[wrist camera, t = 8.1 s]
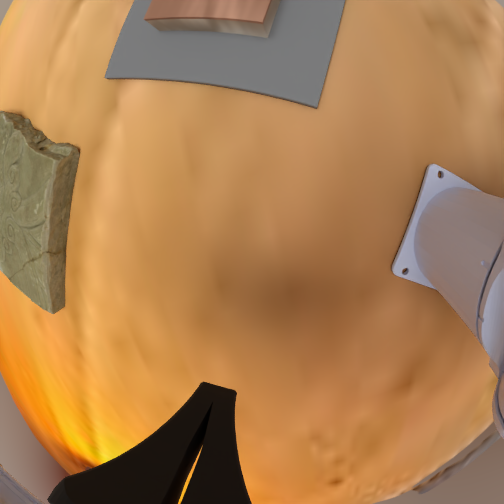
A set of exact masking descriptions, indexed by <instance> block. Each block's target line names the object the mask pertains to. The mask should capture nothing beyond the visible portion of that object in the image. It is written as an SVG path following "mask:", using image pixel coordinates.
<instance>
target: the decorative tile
mask: <svg viewBox="0 0 504 504" xmlns="http://www.w3.org/2000/svg"><path fill="white" fill-rule="evenodd" d="M79 157H80V154H79V152H78V149H77V148H76V147H74V146H73V145H71V144H69V143H58V144H56V143H54V142H52V141H51V140H50V139H48V138H47V137H46V136H44V134H43V132H42V131H37V130H35V129H34V127H33V126H32V124H31V121H30V120H29V119H24V118H23V117H22V116H19V115H17V114H13V113H7V112H4V111H0V270H1V271H2V272H3V273H4V274H5V275H6V276H7V278H8V279H9V280H10V281H11V282H12V283H13V284H14V285H15V286H16V287H17V288H18V289H19V290H21V291H22V292H23V293H24V294H25V295H26V296H28V297H29V298H30V299H31V300H32V301H33V302H34V303H36V304H37V305H38V306H40V307H41V308H42V309H44V310H46V311H48V312H50V313H52V314H55V313H56V312H58V311H59V310H61V309H62V308H63V307H64V306H65V264H66V251H65V250H66V242H67V233H68V225H69V217H70V207H71V200H72V193H73V187H74V182H75V177H76V172H77V166H78V161H79Z"/></svg>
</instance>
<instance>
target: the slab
mask: <svg viewBox="0 0 504 504" xmlns="http://www.w3.org/2000/svg"><path fill="white" fill-rule="evenodd" d="M280 1H281V0H152V1H151V3H150V6H149V8H148V10H147V12H146V14H145V17H144V20H145V21H146V22H148V23H149V24H151V25H152V26H153V27H155V28H156V29H157V30H159V31H209V32H223V33H233V34H242V35H250V36H257V37H263V38H268V36H269V33H270V30H271V27H272V24H273V21H274V18H275V15H276V12H277V9H278V6H279V4H280Z"/></svg>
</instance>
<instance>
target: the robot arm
mask: <svg viewBox="0 0 504 504" xmlns="http://www.w3.org/2000/svg"><path fill="white" fill-rule="evenodd" d="M439 171H440V172H441V177H440V178H439V177H438V172H439ZM404 268H407V270H406V272H404V273H402V270H403V269H404ZM392 272H393V273H394V274H395V275H396V276H399V277H402V278H405V279H407V280H410V281H413V282H416V283H419V284H422V285H425V286H427V287H430V288H433V289H436V290H438V292H439V293H440V294H441V295H442V296H443V297H444V298H445V300H446V301H447V302H448V303H449V304H450V306H451V307H452V308H453V309H454V310H455V312H456V313H457V314H458V315H459V316H460V318H461V319H462V320H463V321H464V323H465V324H466V325H467V326H468V328H469V329H470V330H471V332H472V333H473V334H474V335H475V337H476V338H477V339H478V341H479V342H480V343H481V345H482V346H483V348H484V349H485V350H486V352H487V353H488V355H489V356H490V361H489V365H490V367H491V368H492V370H493V371H494V373H495V375H496V376H497V378H498V379H499V380H498V382H497V385H496V388H495V391H494V395H493V401H492V412H493V419H494V422H495V425H496V428H497V430H498V432H499V434H500V435H501V437H502V438H503V439H504V198H501V197H497V196H494V195H490V194H487V193H484V192H482V191H481V190H479V189H478V188H476V187H474V186H473V185H471V184H470V183H468V182H466V181H465V180H463V179H461V178H460V177H458V176H456V175H455V174H453V173H451V172H449V171H448V170H446V169H444V168H442V167H440V166H438V165H436V164H430V165H429V166H428V167H427V170H426V173H425V177H424V180H423V183H422V187H421V190H420V193H419V196H418V199H417V202H416V205H415V208H414V211H413V214H412V217H411V219H410V222H409V225H408V228H407V230H406V233H405V235H404V238H403V241H402V243H401V246H400V248H399V250H398V253H397V255H396V258H395V260H394V262H393V265H392ZM236 395H237V392H236V391H235V390H232V389H228V388H224V387H221V386H217V385H213V384H210V383H207V382H202V383H201V384H200V385H199V387H198V388H197V389H196V391H195V392H194V393H193V395H192V396H191V397H190V398H189V400H188V401H187V402H186V403H185V404H184V405H183V406H182V407H181V408H180V409H179V410H178V411H177V412H176V413H175V414H174V415H173V416H172V417H171V418H170V419H169V420H168V421H167V422H166V423H165V424H164V425H162V426H161V427H160V428H159V429H158V430H157V431H155V432H154V433H153V434H152V435H150V436H149V437H148V438H146V439H145V440H144V441H142V442H141V443H139V444H138V445H136V446H135V447H133V448H131V449H130V450H128V451H127V452H125V453H123V454H121V455H120V456H118V457H116V458H114V459H112V460H110V461H108V462H106V463H103V464H101V465H99V466H97V467H94V468H92V469H89V470H86V471H83V472H80V473H77V474H74V475H71V476H68V477H65V478H64V479H63V480H62V481H61V482H60V483H59V484H58V485H57V486H56V487H55V488H54V490H53V491H52V493H51V495H50V496H49V498H48V499H47V500H48V502H49V503H50V504H178V502H179V499H180V496H181V493H182V490H183V487H184V485H185V482H186V480H187V477H188V475H189V473H190V471H191V469H192V466H193V464H194V462H195V460H196V458H197V456H198V454H199V452H200V449H201V447H202V450H201V453H200V456H199V459H198V461H197V464H196V466H195V469H194V472H193V474H192V477H191V479H190V482H189V484H188V487H187V489H186V492H185V494H184V497H183V499H182V502H181V504H252V503H251V501H250V498H249V495H248V492H247V489H246V486H245V482H244V479H243V475H242V471H241V466H240V461H239V456H238V450H237V443H236V432H235V401H236ZM202 445H203V446H202ZM0 504H44V503H43V502H42V501H40V500H39V499H38V498H37V497H35V496H34V495H33V494H32V493H31V492H29V491H28V490H27V489H26V488H25V487H23V486H22V485H21V484H20V483H19V482H18V481H17V480H15V479H14V478H13V477H12V476H11V475H10V474H9V473H8V472H7V471H6V470H5V469H4V468H3V467H2V465H1V464H0Z"/></svg>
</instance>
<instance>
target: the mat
mask: <svg viewBox="0 0 504 504" xmlns="http://www.w3.org/2000/svg"><path fill="white" fill-rule="evenodd" d="M151 1H152V0H135V1H134V3H133V5H132V7H131V9H130V11H129V13H128V16H127V18H126V20H125V22H124V25H123V27H122V30H121V32H120V34H119V37H118V40H117V42H116V45H115V48H114V50H113V53H112V56H111V59H110V62H109V65H108V68H107V71H106V74H105V78H106V79H149V80H167V81H179V82H189V83H198V84H206V85H213V86H220V87H226V88H232V89H237V90H243V91H248V92H253V93H258V94H262V95H267V96H271V97H275V98H280V99H284V100H288V101H291V102H295V103H299V104H302V105H306V106H309V107H313V108H316V109H317V106H318V102H319V99H320V95H321V91H322V88H323V84H324V80H325V77H326V73H327V69H328V66H329V62H330V58H331V54H332V50H333V47H334V43H335V39H336V35H337V31H338V27H339V23H340V19H341V15H342V11H343V7H344V3H345V0H281V1H280V4H279V6H278V9H277V12H276V15H275V18H274V21H273V24H272V27H271V30H270V33H269V36H268V38H263V37H257V36H250V35H242V34H233V33H223V32H209V31H159V30H157V29H156V28H155V27H153V26H152V25H151V24H149V23H148V22H146V21H145V20H144V17H145V14H146V12H147V10H148V8H149V6H150V3H151Z"/></svg>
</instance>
